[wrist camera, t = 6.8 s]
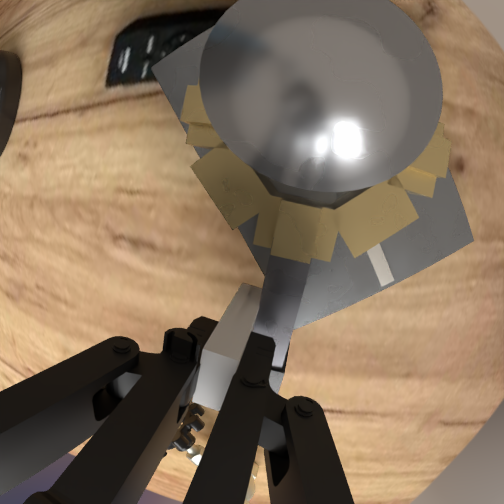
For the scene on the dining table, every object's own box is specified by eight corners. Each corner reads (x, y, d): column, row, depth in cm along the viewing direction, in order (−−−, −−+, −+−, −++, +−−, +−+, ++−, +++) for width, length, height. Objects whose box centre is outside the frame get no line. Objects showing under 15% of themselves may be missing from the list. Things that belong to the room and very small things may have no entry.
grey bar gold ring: (180, 363, 19) (154, 398, 15) (233, 31, 13) (211, -3, 10) (338, 403, 18) (340, 446, 14) (428, 71, 12) (456, 45, 8)
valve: (278, 468, 25) (209, 392, 24) (268, 518, 18) (181, 447, 17) (227, 477, 27) (158, 407, 25) (211, 521, 20) (127, 453, 19)
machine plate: (171, 80, 18) (29, 9, 5) (321, 0, 14) (314, -142, 2) (297, 308, 20) (268, 470, 8) (453, 231, 17) (591, 306, 4)
